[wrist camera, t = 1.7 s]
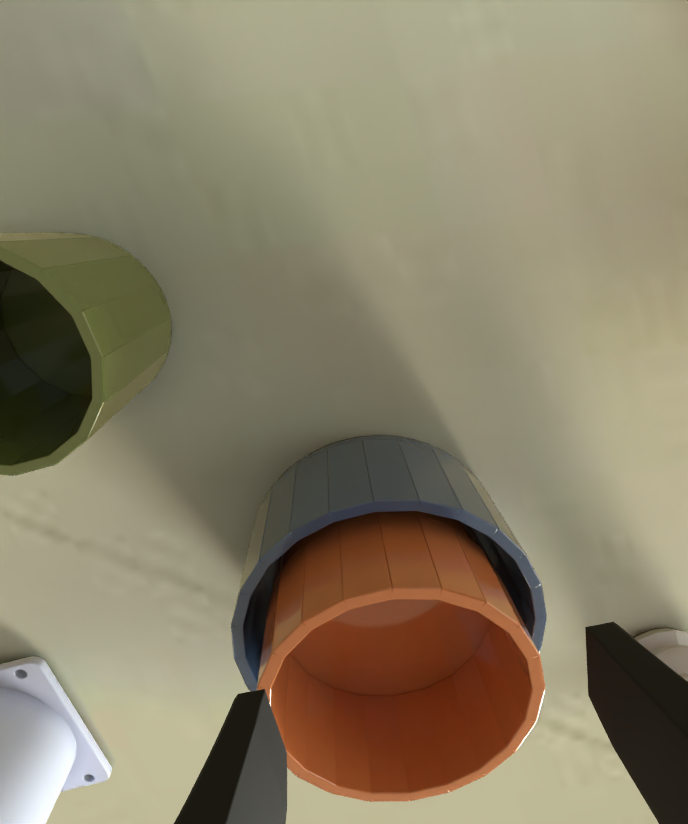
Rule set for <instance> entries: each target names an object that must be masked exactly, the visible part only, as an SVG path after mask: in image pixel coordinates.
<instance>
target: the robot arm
mask: <svg viewBox="0 0 688 824" xmlns="http://www.w3.org/2000/svg"><path fill="white" fill-rule="evenodd" d="M586 649H587V671H588V693H589V697H590V699H591V702H592V704H593V706H594V708H595V710H596V712H597V714H598V717H599V719H600V721H601V723H602V725H603V727H604V729H605V731H606V733H607V735H608V737H609V739H610V741H611V744H612V746H613V747H614V749H615V751H616V752H617V754H618V756H619V758H620V759H621V761H622V763H623V764H624V766H625V768H626V769H627V771H628V773H629V774H630V776H631V778H632V779H633V781H634V783H635V784H636V786H637V788H638V789H639V791H640V793H641V794H642V796H643V798H644V799H645V801H646V803H647V804H648V806H649V808H650V809H651V811H652V813H653V814H654V816H655V817H656V819H657V821H658V822H659V824H688V681H687V680H685V679H684V678H683V677H681V676H680V675H679V674H678V673H676V672H675V671H674V670H673V669H671V668H670V667H669V666H668V665H666V664H665V663H664V662H663V661H661V660H660V659H659V658H658V657H656V656H655V655H654V654H653V653H651V652H650V651H649V650H648V649H646V648H645V647H644V646H643V645H642V644H640V643H639V642H638V641H637V640H636V639H634V638H633V637H632V636H631V635H629V634H628V633H627V632H626V631H625V630H623V629H622V628H621V627H620V626H619V625H617V624H616V623H614V622H610V623H605V624H600V625H595V626H590V627H586ZM111 771H112V768H111V765H110V764H109V762H108V761H107V759H106V757H105V756H104V754H103V753H102V751H101V749H100V748H99V746H98V745H97V743H96V741H95V740H94V738H93V737H92V735H91V733H90V732H89V730H88V729H87V727H86V725H85V724H84V722H83V721H82V719H81V717H80V716H79V714H78V713H77V711H76V709H75V708H74V706H73V705H72V703H71V701H70V700H69V698H68V697H67V695H66V693H65V692H64V690H63V689H62V687H61V685H60V684H59V682H58V681H57V679H56V677H55V676H54V674H53V673H52V671H51V669H50V668H49V666H48V665H47V663H46V662H45V660H44V659H42V658H40V657H37V656H32V657H27V658H23V659H19V660H15V661H11V662H7V663H2V664H0V824H46V822H47V820H48V817H49V815H50V813H51V811H52V809H53V807H54V804H55V802H56V800H57V798H58V796H59V794H60V792H61V791H65V790H70V789H74V788H78V787H83V786H87V785H91V784H96V783H100V782H104V781H106V780H107V779H108V778H109V776H110V774H111ZM286 812H287V751H286V748H285V745H284V743H283V740H282V737H281V734H280V731H279V728H278V725H277V723H276V720H275V717H274V714H273V711H272V708H271V706H270V703H269V700H268V697H267V694H266V691H265V689H262V690H257V691H251V692H246V693H241V694H238V695H237V696H236V698H235V699H234V701H233V704H232V706H231V708H230V711H229V713H228V715H227V717H226V720H225V722H224V724H223V726H222V728H221V731H220V733H219V735H218V737H217V739H216V741H215V744H214V746H213V748H212V750H211V752H210V754H209V756H208V758H207V760H206V762H205V764H204V766H203V768H202V770H201V772H200V774H199V776H198V778H197V780H196V782H195V784H194V786H193V788H192V790H191V792H190V794H189V796H188V798H187V800H186V802H185V804H184V806H183V808H182V810H181V812H180V813H179V815H178V817H177V819H176V821H175V822H174V824H285V823H286Z"/></svg>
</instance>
